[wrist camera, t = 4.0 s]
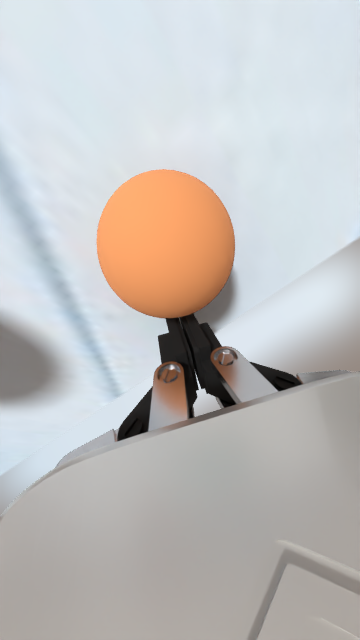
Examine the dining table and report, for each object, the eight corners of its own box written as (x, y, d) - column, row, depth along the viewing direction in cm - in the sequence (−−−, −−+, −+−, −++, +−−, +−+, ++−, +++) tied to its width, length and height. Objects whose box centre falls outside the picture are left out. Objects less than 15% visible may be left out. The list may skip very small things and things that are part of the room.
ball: (203, 174, 9) (279, 123, 4) (211, 280, 12) (259, 325, 7) (90, 194, 8) (24, 165, 4) (128, 299, 11) (119, 360, 7)
